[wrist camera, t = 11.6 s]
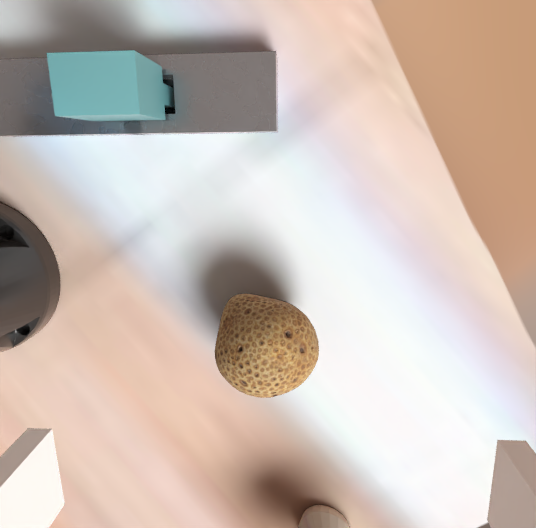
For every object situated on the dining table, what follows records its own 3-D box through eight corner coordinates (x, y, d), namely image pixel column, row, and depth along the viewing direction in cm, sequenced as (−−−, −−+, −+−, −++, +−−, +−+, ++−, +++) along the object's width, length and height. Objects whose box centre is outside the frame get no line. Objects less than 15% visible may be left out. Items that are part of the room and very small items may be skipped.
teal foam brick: (109, 123, 39) (54, 115, 30) (104, 74, 38) (46, 52, 29) (175, 122, 38) (139, 114, 30) (172, 73, 37) (134, 50, 29)
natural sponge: (297, 376, 44) (298, 440, 34) (213, 350, 44) (190, 407, 34) (327, 295, 42) (336, 340, 32) (238, 267, 41) (220, 304, 32)
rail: (14, 136, 40) (-5, 135, 37) (2, 65, 38) (-17, 59, 36) (277, 132, 38) (276, 131, 36) (277, 57, 37) (275, 51, 34)
